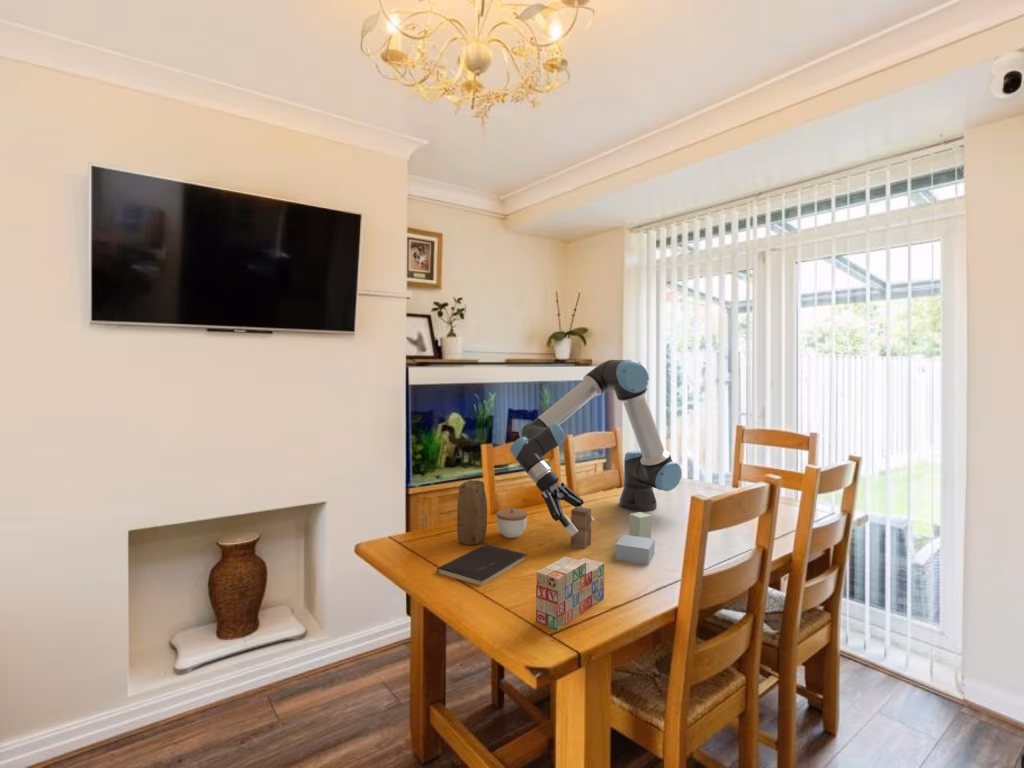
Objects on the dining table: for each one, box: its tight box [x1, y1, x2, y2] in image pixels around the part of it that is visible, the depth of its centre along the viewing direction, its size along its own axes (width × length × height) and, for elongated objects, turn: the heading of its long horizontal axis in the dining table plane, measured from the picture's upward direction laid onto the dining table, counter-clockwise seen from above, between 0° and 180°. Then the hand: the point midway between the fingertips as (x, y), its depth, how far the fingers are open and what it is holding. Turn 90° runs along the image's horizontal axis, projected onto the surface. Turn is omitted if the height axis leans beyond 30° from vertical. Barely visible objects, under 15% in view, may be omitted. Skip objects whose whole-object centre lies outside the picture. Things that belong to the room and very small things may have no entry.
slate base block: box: [615, 534, 656, 566], centre depth 167 cm, size 10×10×5 cm
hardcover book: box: [436, 544, 527, 587], centre depth 158 cm, size 16×23×2 cm
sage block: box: [628, 511, 652, 539], centre depth 180 cm, size 5×5×9 cm
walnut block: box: [570, 506, 592, 550], centre depth 176 cm, size 5×5×12 cm
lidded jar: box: [495, 507, 528, 539], centre depth 185 cm, size 11×11×9 cm
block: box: [456, 479, 488, 546], centre depth 179 cm, size 11×8×20 cm
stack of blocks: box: [535, 556, 605, 631], centre depth 131 cm, size 21×6×12 cm, turn 141°
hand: (583, 528), depth 175 cm, fingers open, 13 cm apart
